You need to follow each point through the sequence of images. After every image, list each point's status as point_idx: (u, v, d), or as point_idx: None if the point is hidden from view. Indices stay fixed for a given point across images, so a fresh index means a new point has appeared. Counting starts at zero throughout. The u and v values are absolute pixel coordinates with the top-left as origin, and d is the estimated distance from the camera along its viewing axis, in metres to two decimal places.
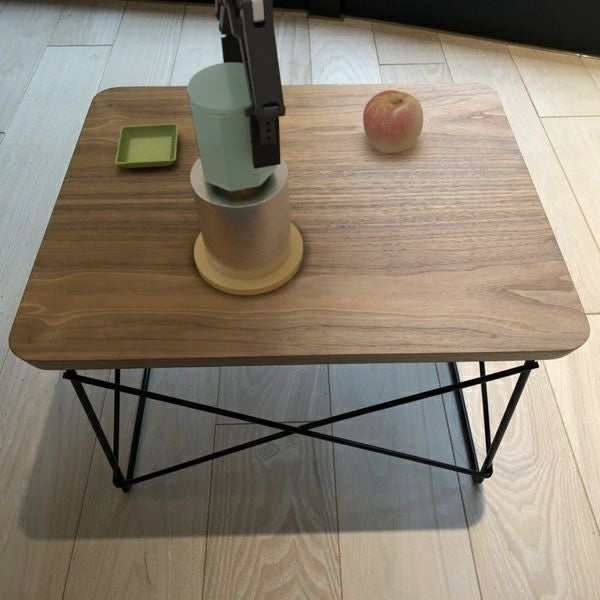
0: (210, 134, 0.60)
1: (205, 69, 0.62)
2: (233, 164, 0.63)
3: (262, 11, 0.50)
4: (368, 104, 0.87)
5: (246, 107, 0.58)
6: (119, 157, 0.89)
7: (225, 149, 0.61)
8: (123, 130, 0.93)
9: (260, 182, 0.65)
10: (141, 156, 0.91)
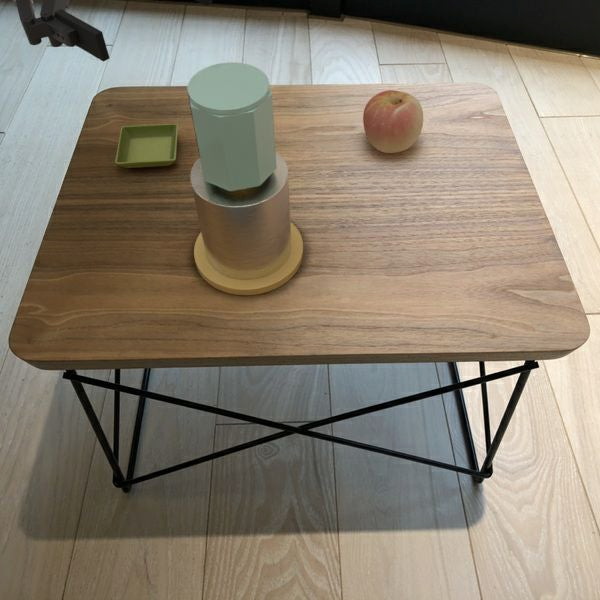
0: (210, 134, 0.60)
1: (205, 69, 0.62)
2: (233, 164, 0.63)
3: None
4: (368, 104, 0.87)
5: (246, 107, 0.58)
6: (119, 157, 0.89)
7: (225, 149, 0.61)
8: (123, 130, 0.93)
9: (260, 182, 0.65)
10: (141, 156, 0.91)
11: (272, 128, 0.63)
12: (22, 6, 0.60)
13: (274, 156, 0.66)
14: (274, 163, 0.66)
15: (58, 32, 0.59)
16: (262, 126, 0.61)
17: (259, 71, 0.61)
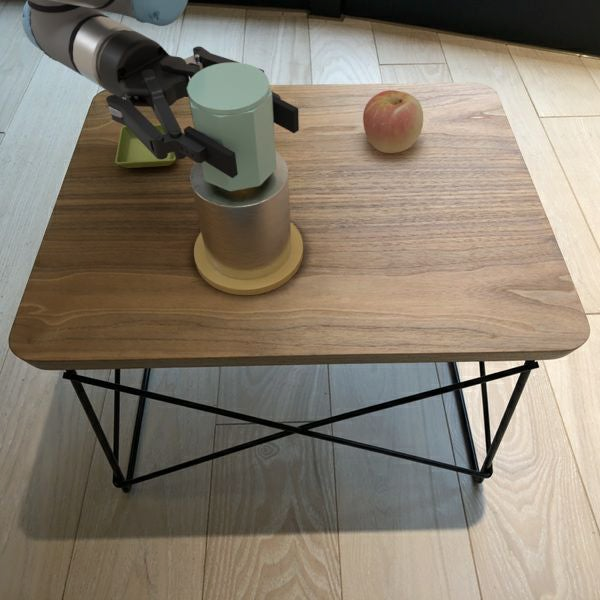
0: (210, 134, 0.60)
1: (205, 69, 0.62)
2: None
3: None
4: (368, 104, 0.87)
5: (246, 107, 0.58)
6: (119, 157, 0.89)
7: None
8: (123, 130, 0.93)
9: (260, 182, 0.65)
10: (141, 156, 0.91)
11: (272, 128, 0.63)
12: (143, 124, 0.62)
13: (274, 156, 0.66)
14: (274, 163, 0.66)
15: (188, 150, 0.61)
16: (262, 126, 0.61)
17: (259, 71, 0.61)
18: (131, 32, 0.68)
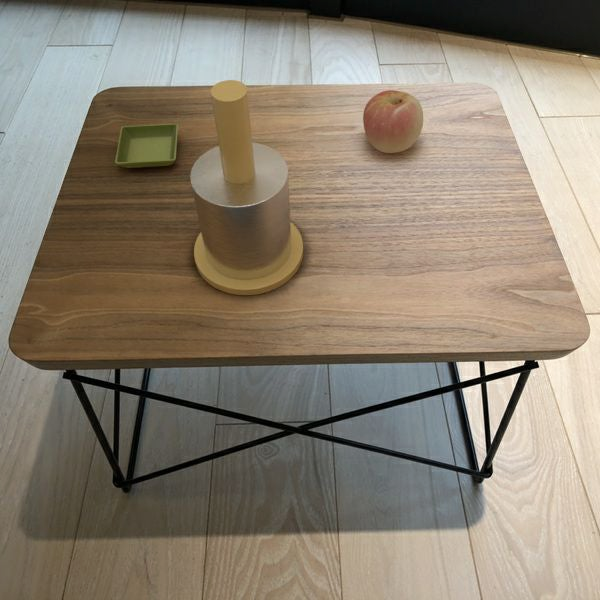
0: None
1: None
2: None
3: None
4: (368, 104, 0.87)
5: None
6: (119, 157, 0.89)
7: None
8: (123, 130, 0.93)
9: None
10: (141, 156, 0.91)
11: None
12: None
13: None
14: None
15: None
16: None
17: None
18: None
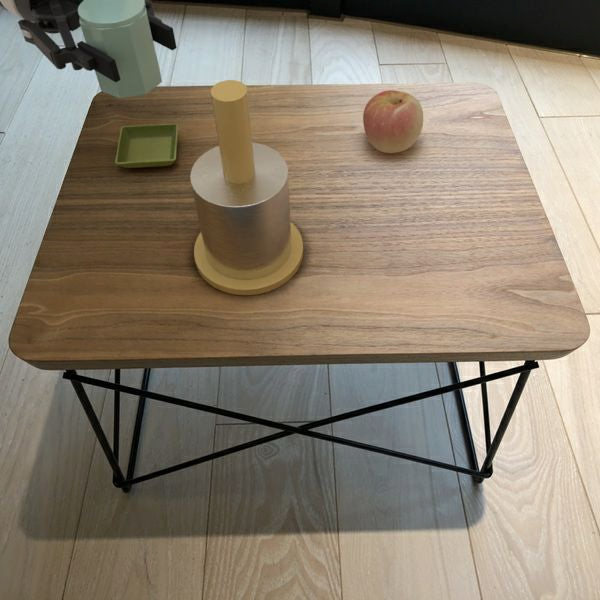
0: (97, 46, 0.74)
1: None
2: (119, 73, 0.77)
3: None
4: (368, 104, 0.87)
5: (122, 21, 0.72)
6: (119, 157, 0.89)
7: None
8: (123, 130, 0.93)
9: (145, 91, 0.80)
10: (141, 156, 0.91)
11: (151, 44, 0.77)
12: (45, 39, 0.76)
13: (157, 70, 0.80)
14: (158, 77, 0.81)
15: (80, 59, 0.75)
16: (140, 40, 0.75)
17: None
18: None
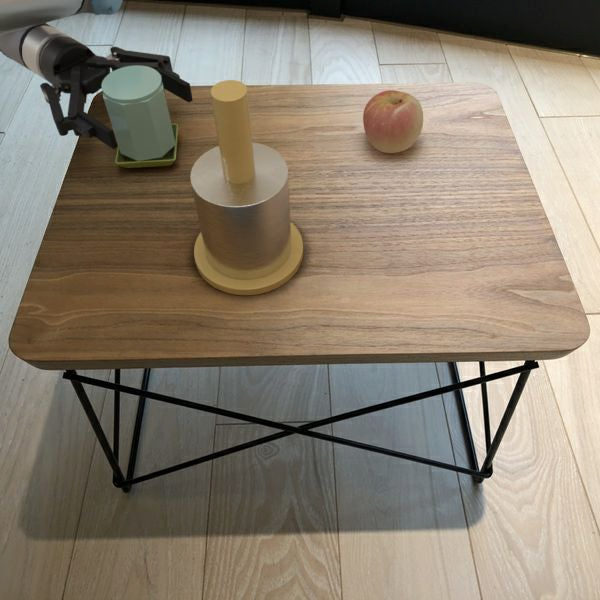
0: (118, 117, 0.83)
1: (116, 70, 0.84)
2: (138, 140, 0.85)
3: None
4: (368, 104, 0.87)
5: (142, 98, 0.80)
6: (119, 157, 0.89)
7: (130, 129, 0.83)
8: None
9: (161, 154, 0.88)
10: None
11: (167, 114, 0.85)
12: (54, 107, 0.84)
13: (172, 135, 0.88)
14: (173, 140, 0.89)
15: (81, 128, 0.82)
16: (158, 112, 0.83)
17: (155, 72, 0.84)
18: (65, 37, 0.90)
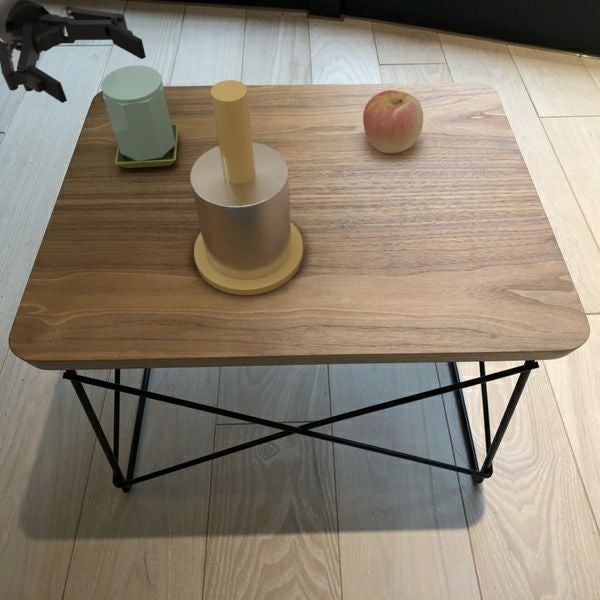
0: (118, 117, 0.83)
1: (116, 70, 0.84)
2: (138, 140, 0.85)
3: None
4: (368, 104, 0.87)
5: (142, 98, 0.80)
6: (119, 157, 0.89)
7: (130, 129, 0.83)
8: None
9: (161, 154, 0.88)
10: None
11: (167, 114, 0.85)
12: (4, 62, 0.83)
13: (172, 135, 0.88)
14: (173, 140, 0.89)
15: (29, 82, 0.81)
16: (158, 112, 0.83)
17: (155, 72, 0.84)
18: None
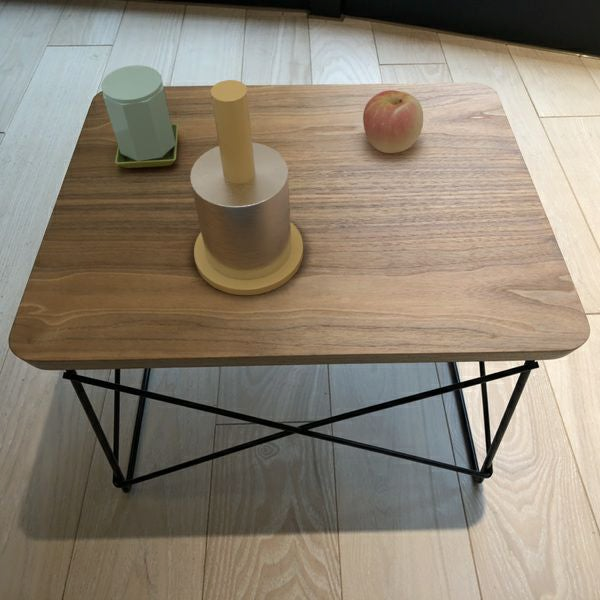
0: (118, 117, 0.83)
1: (116, 70, 0.84)
2: (138, 140, 0.85)
3: None
4: (368, 104, 0.87)
5: (142, 98, 0.80)
6: (119, 157, 0.89)
7: (130, 129, 0.83)
8: None
9: (161, 154, 0.88)
10: None
11: (167, 114, 0.85)
12: None
13: (172, 135, 0.88)
14: (173, 140, 0.89)
15: None
16: (158, 112, 0.83)
17: (155, 72, 0.84)
18: None
